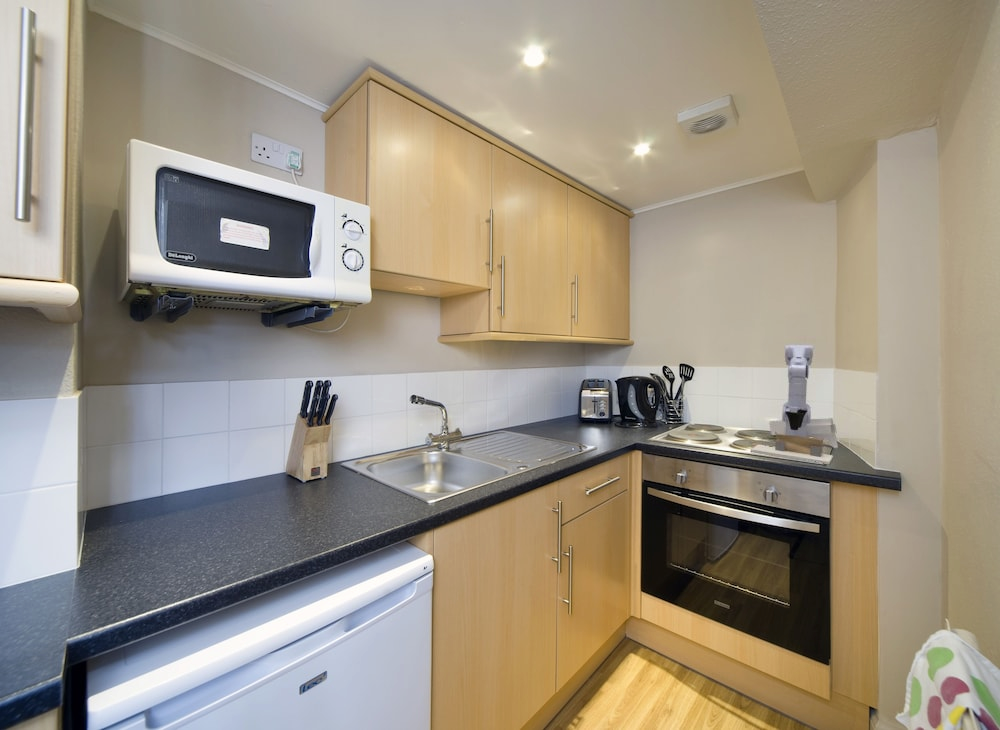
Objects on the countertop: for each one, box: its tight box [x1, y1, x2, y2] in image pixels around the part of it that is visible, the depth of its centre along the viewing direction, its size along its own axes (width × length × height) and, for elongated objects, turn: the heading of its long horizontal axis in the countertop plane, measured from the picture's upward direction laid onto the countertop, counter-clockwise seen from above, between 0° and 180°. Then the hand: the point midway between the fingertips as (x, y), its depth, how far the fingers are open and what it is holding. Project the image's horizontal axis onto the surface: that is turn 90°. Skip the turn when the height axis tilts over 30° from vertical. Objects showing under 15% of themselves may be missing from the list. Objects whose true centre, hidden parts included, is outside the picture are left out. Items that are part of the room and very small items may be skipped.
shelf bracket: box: [768, 417, 839, 449], centre depth 179 cm, size 6×25×13 cm, turn 25°
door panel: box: [775, 434, 824, 456], centre depth 154 cm, size 2×14×6 cm, turn 46°
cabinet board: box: [750, 441, 834, 465], centre depth 154 cm, size 13×24×4 cm, turn 46°
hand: (795, 428), depth 159 cm, fingers open, 7 cm apart
